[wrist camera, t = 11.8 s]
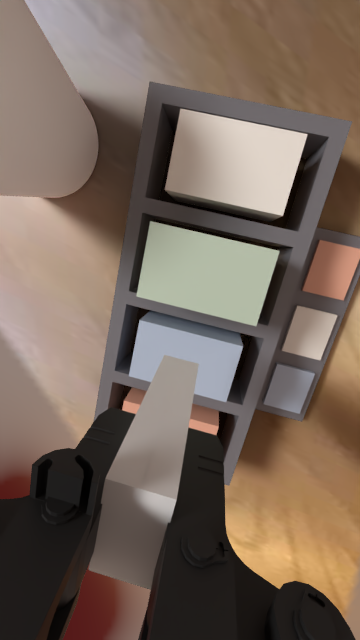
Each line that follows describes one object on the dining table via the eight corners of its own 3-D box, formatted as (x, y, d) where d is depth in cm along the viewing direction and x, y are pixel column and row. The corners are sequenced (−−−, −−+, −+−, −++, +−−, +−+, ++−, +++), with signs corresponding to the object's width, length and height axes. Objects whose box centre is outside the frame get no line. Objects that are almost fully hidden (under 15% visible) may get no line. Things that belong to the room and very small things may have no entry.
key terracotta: (139, 376, 21) (124, 400, 18) (218, 397, 21) (218, 426, 17) (130, 417, 22) (114, 448, 19) (206, 438, 22) (204, 473, 18)
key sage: (164, 226, 16) (150, 221, 13) (266, 250, 16) (279, 250, 13) (152, 287, 17) (136, 296, 14) (248, 310, 17) (256, 326, 14)
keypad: (162, 113, 18) (149, 81, 14) (325, 146, 17) (352, 121, 14) (108, 416, 23) (89, 445, 20) (227, 450, 23) (229, 485, 19)
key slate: (152, 307, 20) (139, 320, 16) (238, 329, 19) (243, 346, 16) (143, 355, 21) (128, 376, 17) (224, 376, 20) (226, 402, 17)
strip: (311, 227, 18) (315, 226, 17) (368, 240, 18) (376, 239, 17) (252, 404, 21) (253, 410, 21) (299, 416, 21) (303, 423, 20)
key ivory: (187, 136, 17) (180, 108, 13) (289, 157, 16) (307, 134, 13) (174, 200, 18) (164, 189, 14) (270, 222, 17) (282, 215, 14)
